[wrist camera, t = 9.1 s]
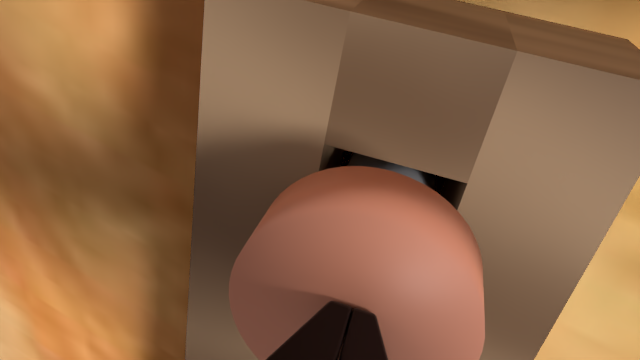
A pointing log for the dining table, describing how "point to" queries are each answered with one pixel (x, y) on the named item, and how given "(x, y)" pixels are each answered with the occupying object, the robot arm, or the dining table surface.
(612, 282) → the dining table surface
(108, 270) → the dining table surface
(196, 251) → the button block
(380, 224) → the red button
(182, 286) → the dining table surface
